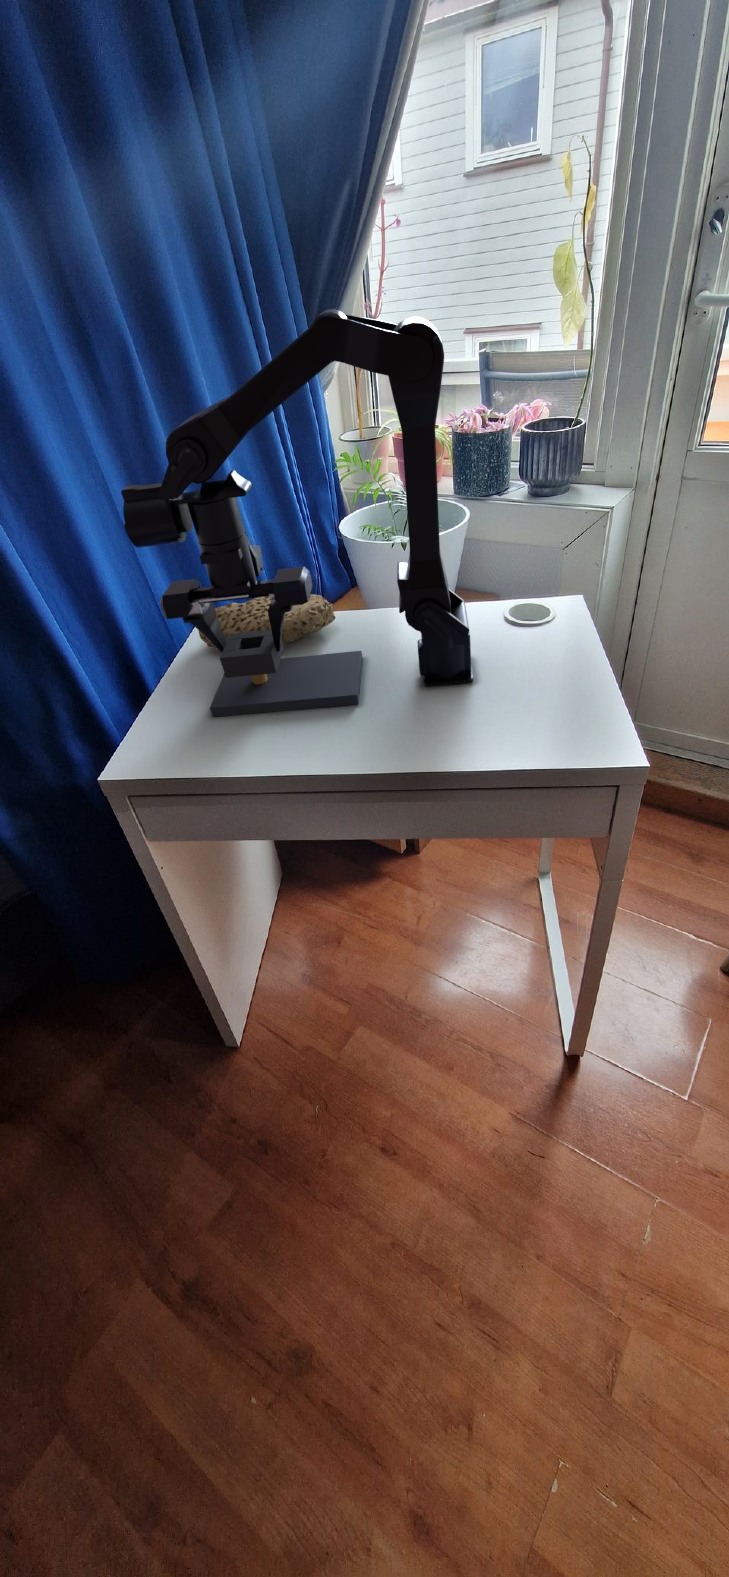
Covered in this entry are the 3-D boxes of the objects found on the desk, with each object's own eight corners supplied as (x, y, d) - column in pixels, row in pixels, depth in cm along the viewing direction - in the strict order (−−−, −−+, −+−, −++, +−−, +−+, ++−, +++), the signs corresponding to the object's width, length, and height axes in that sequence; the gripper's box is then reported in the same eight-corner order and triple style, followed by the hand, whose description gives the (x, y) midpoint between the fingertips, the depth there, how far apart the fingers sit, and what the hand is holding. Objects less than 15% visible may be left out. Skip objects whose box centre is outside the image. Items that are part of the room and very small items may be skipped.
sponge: (204, 666, 103) (313, 646, 94) (185, 617, 99) (296, 592, 91) (245, 640, 113) (347, 620, 104) (230, 596, 110) (333, 571, 101)
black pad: (284, 648, 91) (279, 628, 90) (276, 673, 86) (271, 653, 84) (236, 652, 92) (230, 633, 90) (225, 678, 87) (219, 658, 85)
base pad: (362, 659, 95) (359, 634, 92) (358, 704, 86) (354, 678, 83) (230, 672, 97) (223, 648, 95) (212, 717, 88) (204, 692, 86)
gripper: (305, 506, 83) (326, 618, 93) (166, 523, 86) (201, 632, 96) (293, 536, 75) (318, 657, 85) (140, 555, 77) (181, 670, 87)
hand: (253, 652), depth 88 cm, fingers closed on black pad, 7 cm apart
